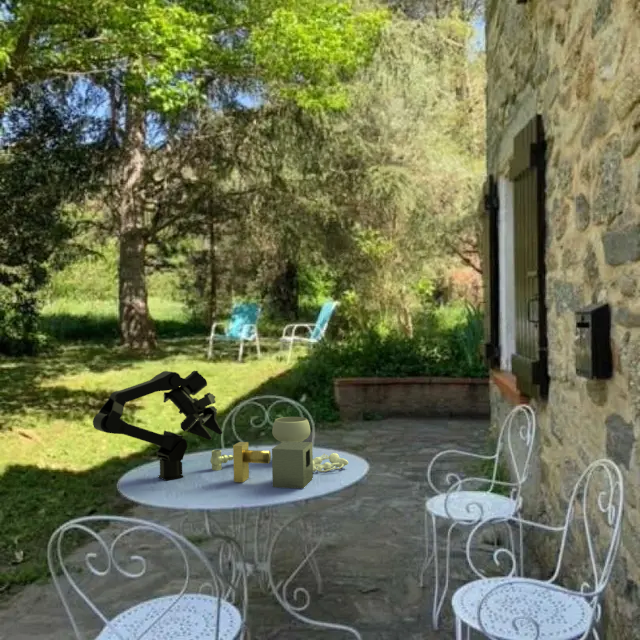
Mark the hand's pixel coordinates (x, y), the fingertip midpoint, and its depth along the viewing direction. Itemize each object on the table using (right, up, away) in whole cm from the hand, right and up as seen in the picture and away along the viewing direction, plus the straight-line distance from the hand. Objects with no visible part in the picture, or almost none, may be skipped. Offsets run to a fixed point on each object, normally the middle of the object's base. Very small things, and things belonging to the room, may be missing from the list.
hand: (216, 436), depth 225 cm
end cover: (+13, -13, -6) cm, 19 cm away
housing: (+26, -13, -9) cm, 31 cm away
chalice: (+24, -13, +23) cm, 36 cm away
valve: (+1, -14, +14) cm, 19 cm away
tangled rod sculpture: (+35, -13, +8) cm, 38 cm away
